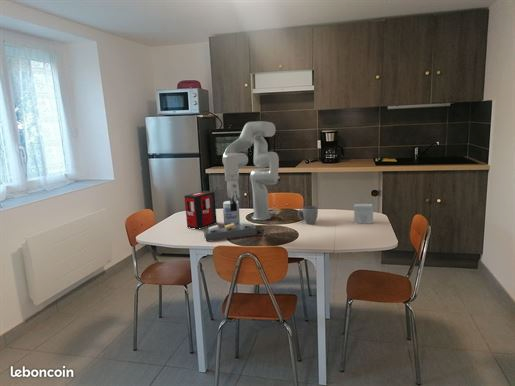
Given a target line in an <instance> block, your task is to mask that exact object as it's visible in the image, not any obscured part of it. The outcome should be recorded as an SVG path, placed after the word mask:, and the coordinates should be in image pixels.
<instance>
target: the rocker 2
mask: <svg viewBox="0 0 515 386" xmlns="http://www.w3.org/2000/svg"><path fill="white" fill-rule="evenodd" d="M251 224H252V223H251V222H246V221H240V226H251Z"/></svg>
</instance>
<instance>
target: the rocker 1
mask: <svg viewBox="0 0 515 386" xmlns="http://www.w3.org/2000/svg"><path fill="white" fill-rule="evenodd" d="M219 228H220V227H219V225H218V224H216V225H215V224H214V225H213V226H212V225H211V226H210V227H209V226H208V227H207V230H209V231H213V230H216V229H219Z"/></svg>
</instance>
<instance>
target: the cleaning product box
mask: <svg viewBox="0 0 515 386" xmlns="http://www.w3.org/2000/svg"><path fill="white" fill-rule="evenodd" d="M184 205H185V206H184V207H185V216H186V225H187V227H190V228H195V229H199V228H202V227H204V228H206V227H205V226H207V227H209V226H208V225H210V226H212V225H211V224H213V225H215V224H214V223H216V224H217V223H218V222H217V221H218V220H217V210H216V208H217V207H216V196H215V191H212V190H211V191H210V190H202V191H198V192H194V193H190V194H186V195H184ZM190 228H189V229H190ZM195 229H194V230H195ZM202 229H203V228H202ZM199 230H200V229H199Z"/></svg>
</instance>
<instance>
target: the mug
mask: <svg viewBox="0 0 515 386" xmlns="http://www.w3.org/2000/svg"><path fill="white" fill-rule="evenodd" d="M318 209H319V208H318V206H315V205H305V206H303V207H302V209H299V210H298V211H297V216H298V218H299V219H300V220H301V221H304V222H305V224H306V225H309V226H310V225H311V226H312V225H315V224H316V221H317V219H318V211H319V210H318ZM300 213H302V215H303V217H301V216H302V215H301V214H300Z"/></svg>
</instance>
